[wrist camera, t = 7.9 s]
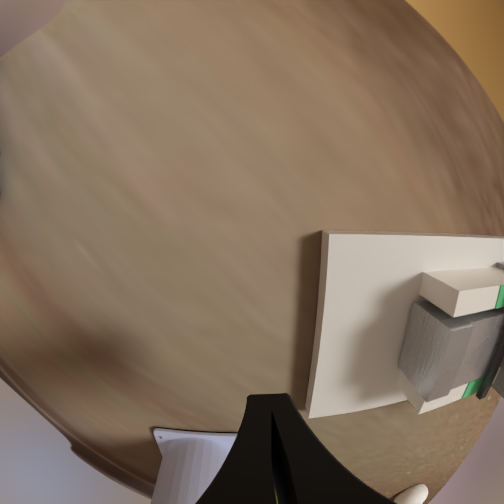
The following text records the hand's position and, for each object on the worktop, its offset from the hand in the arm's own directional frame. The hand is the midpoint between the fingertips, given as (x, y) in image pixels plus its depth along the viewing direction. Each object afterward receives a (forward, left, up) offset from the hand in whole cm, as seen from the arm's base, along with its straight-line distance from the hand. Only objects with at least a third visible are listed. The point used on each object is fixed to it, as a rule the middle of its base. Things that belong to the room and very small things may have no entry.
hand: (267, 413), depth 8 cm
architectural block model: (-2, -14, -9) cm, 17 cm away
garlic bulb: (-38, -26, -10) cm, 47 cm away
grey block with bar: (-2, -14, -8) cm, 16 cm away
